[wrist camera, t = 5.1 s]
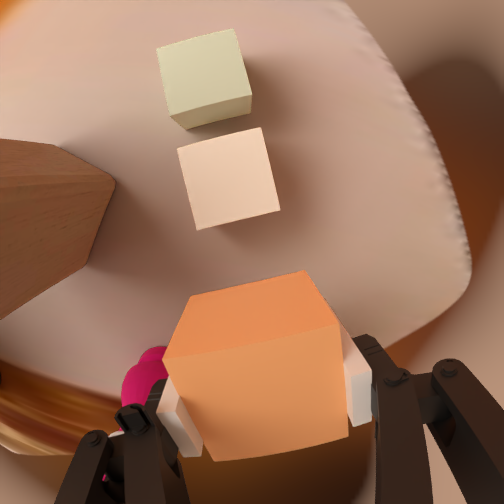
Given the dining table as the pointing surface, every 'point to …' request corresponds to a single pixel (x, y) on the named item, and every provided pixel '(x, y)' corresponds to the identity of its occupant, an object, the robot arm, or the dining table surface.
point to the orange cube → (260, 368)
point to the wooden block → (45, 217)
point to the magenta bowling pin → (142, 379)
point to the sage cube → (205, 79)
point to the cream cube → (228, 178)
